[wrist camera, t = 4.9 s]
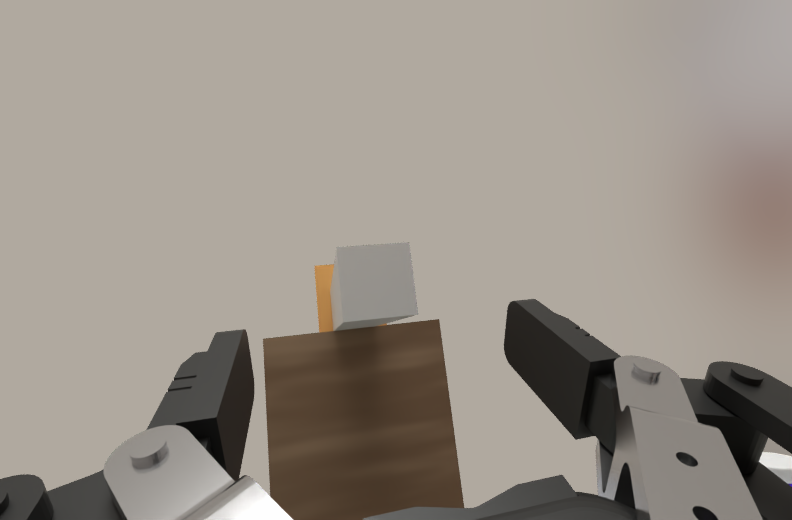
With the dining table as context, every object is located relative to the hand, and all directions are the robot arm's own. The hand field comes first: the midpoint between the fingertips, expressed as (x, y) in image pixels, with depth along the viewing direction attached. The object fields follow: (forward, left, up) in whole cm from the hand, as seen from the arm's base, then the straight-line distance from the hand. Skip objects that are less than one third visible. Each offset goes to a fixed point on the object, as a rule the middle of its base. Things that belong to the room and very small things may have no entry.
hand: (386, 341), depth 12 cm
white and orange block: (-4, -11, +1) cm, 11 cm away
